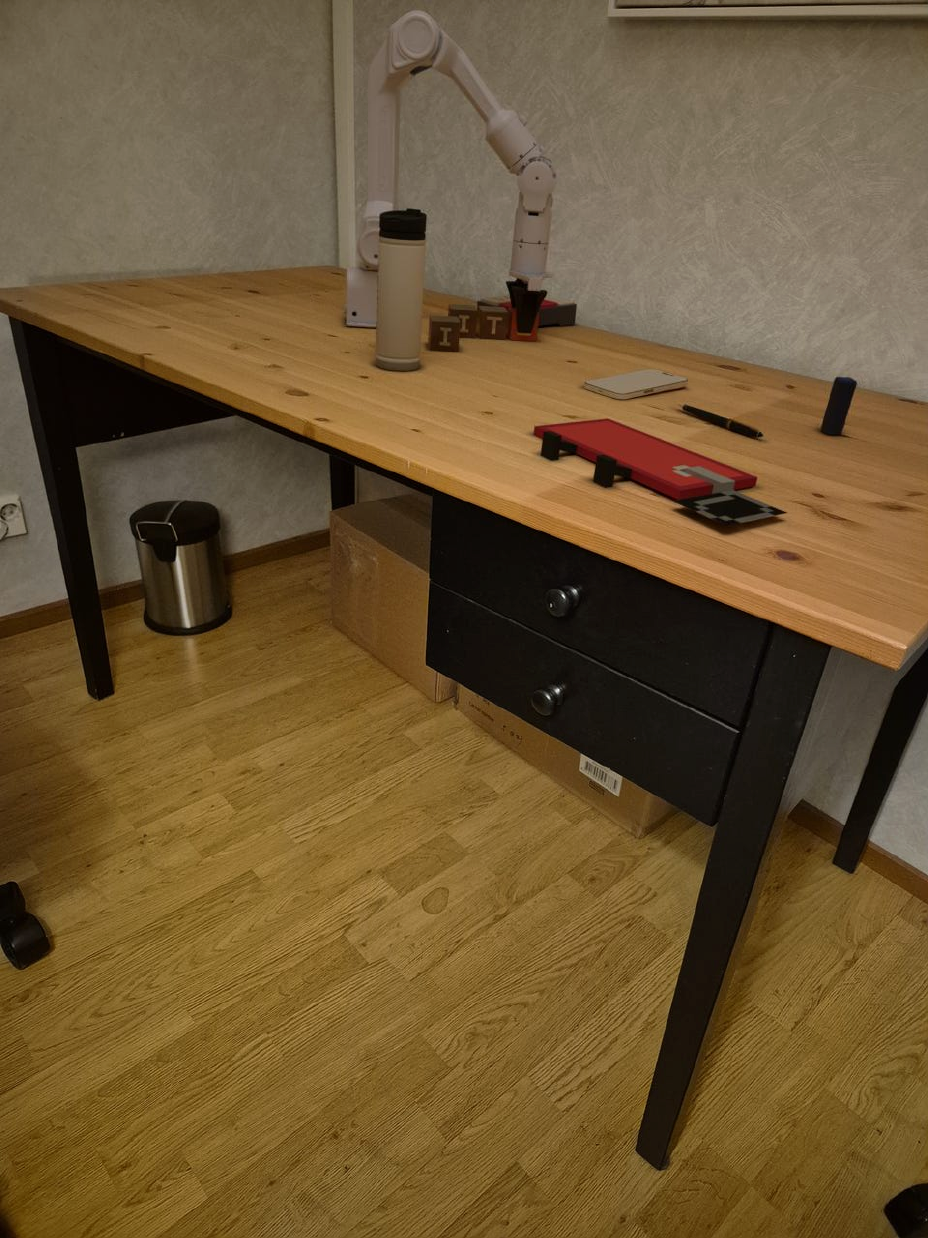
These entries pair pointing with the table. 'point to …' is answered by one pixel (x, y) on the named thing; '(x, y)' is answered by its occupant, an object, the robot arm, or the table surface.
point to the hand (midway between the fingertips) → (521, 329)
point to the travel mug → (400, 289)
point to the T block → (492, 322)
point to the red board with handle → (657, 468)
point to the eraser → (838, 405)
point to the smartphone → (635, 383)
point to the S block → (513, 331)
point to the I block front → (444, 333)
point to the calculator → (541, 309)
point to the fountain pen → (724, 421)
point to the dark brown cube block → (465, 319)
